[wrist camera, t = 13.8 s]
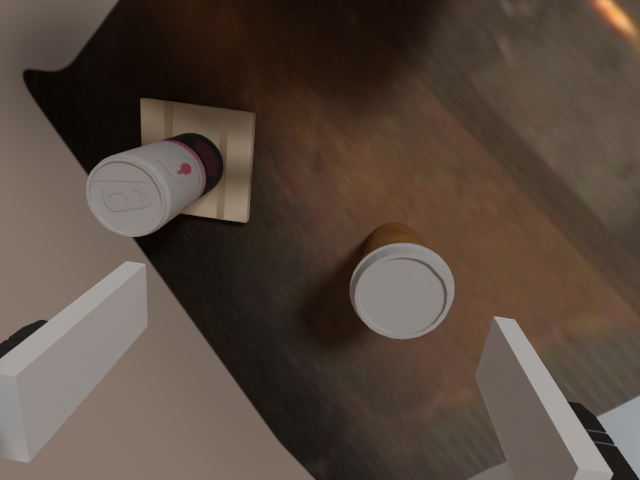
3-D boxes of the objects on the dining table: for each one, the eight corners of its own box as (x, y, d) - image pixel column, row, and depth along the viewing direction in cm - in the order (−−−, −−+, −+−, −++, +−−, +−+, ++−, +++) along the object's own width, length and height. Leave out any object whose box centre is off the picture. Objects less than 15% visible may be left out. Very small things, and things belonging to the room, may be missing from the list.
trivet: (145, 98, 46) (140, 98, 45) (255, 112, 46) (253, 113, 45) (148, 205, 51) (142, 208, 49) (248, 219, 50) (246, 223, 49)
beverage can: (158, 136, 46) (71, 162, 32) (217, 128, 45) (153, 150, 31) (174, 195, 48) (99, 243, 34) (230, 188, 48) (176, 234, 34)
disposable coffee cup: (337, 263, 51) (331, 315, 40) (377, 194, 48) (382, 229, 37) (408, 298, 52) (420, 359, 41) (451, 232, 49) (479, 279, 37)
